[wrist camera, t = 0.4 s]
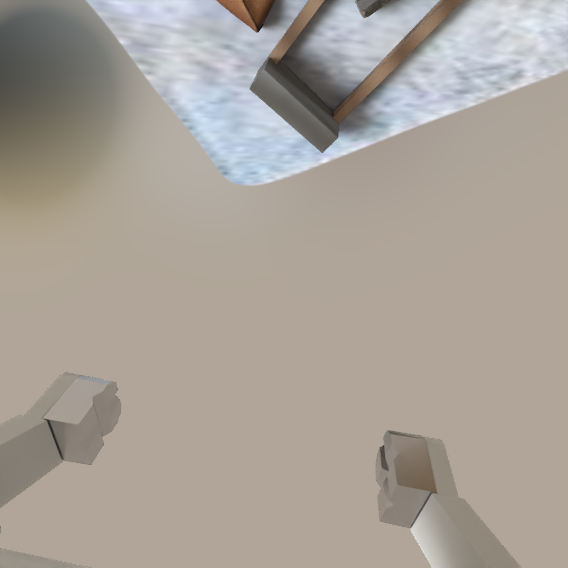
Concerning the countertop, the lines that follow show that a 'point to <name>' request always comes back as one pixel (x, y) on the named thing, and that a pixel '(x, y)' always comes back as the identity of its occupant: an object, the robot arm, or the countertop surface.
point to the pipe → (369, 6)
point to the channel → (304, 102)
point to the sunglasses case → (249, 11)
